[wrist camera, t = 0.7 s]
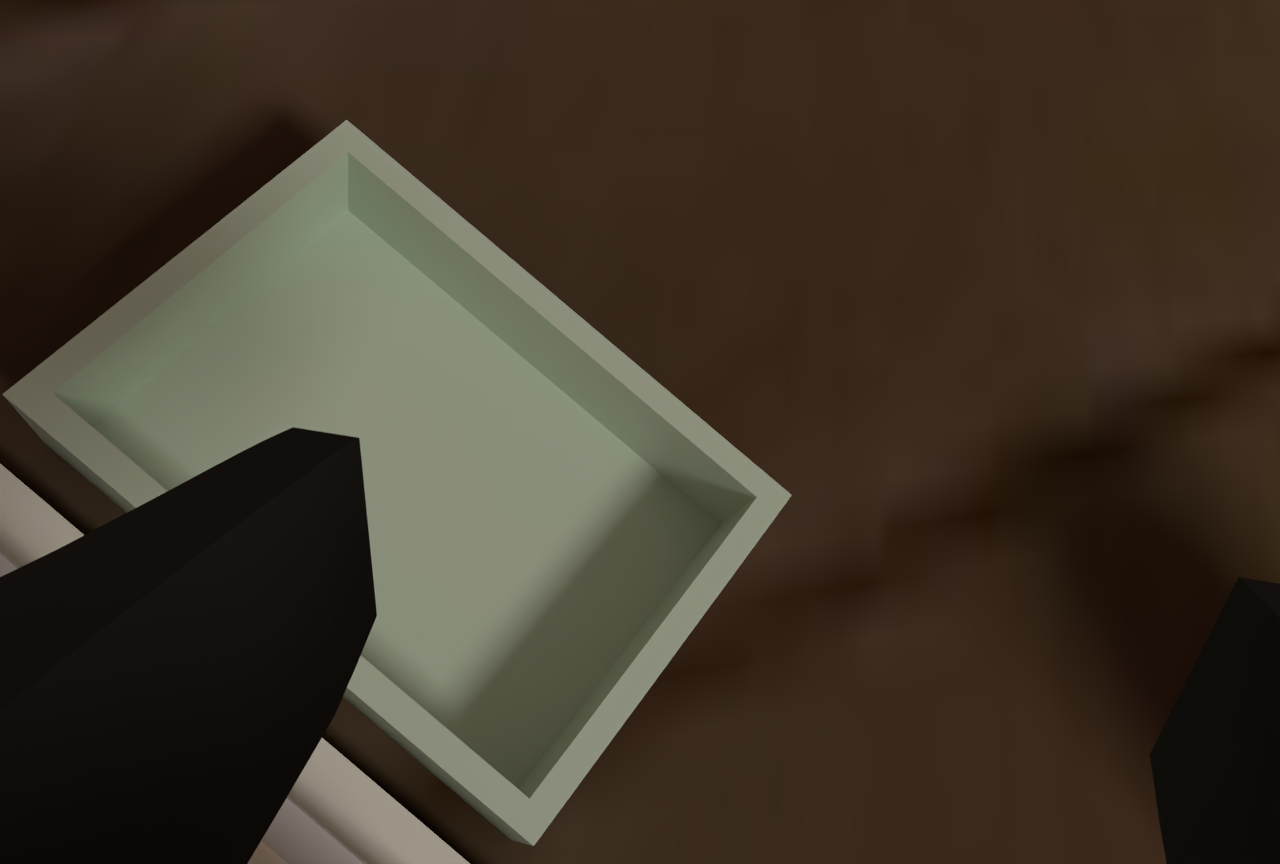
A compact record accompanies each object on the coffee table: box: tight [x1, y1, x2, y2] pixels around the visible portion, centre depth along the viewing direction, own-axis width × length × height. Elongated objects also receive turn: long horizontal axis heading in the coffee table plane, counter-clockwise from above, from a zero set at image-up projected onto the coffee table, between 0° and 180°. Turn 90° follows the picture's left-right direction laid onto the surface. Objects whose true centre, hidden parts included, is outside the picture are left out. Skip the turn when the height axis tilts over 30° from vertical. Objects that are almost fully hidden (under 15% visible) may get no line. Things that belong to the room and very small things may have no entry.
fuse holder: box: [0, 464, 470, 864], centre depth 19 cm, size 7×20×2 cm, turn 53°
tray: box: [3, 120, 792, 846], centre depth 23 cm, size 9×13×3 cm
